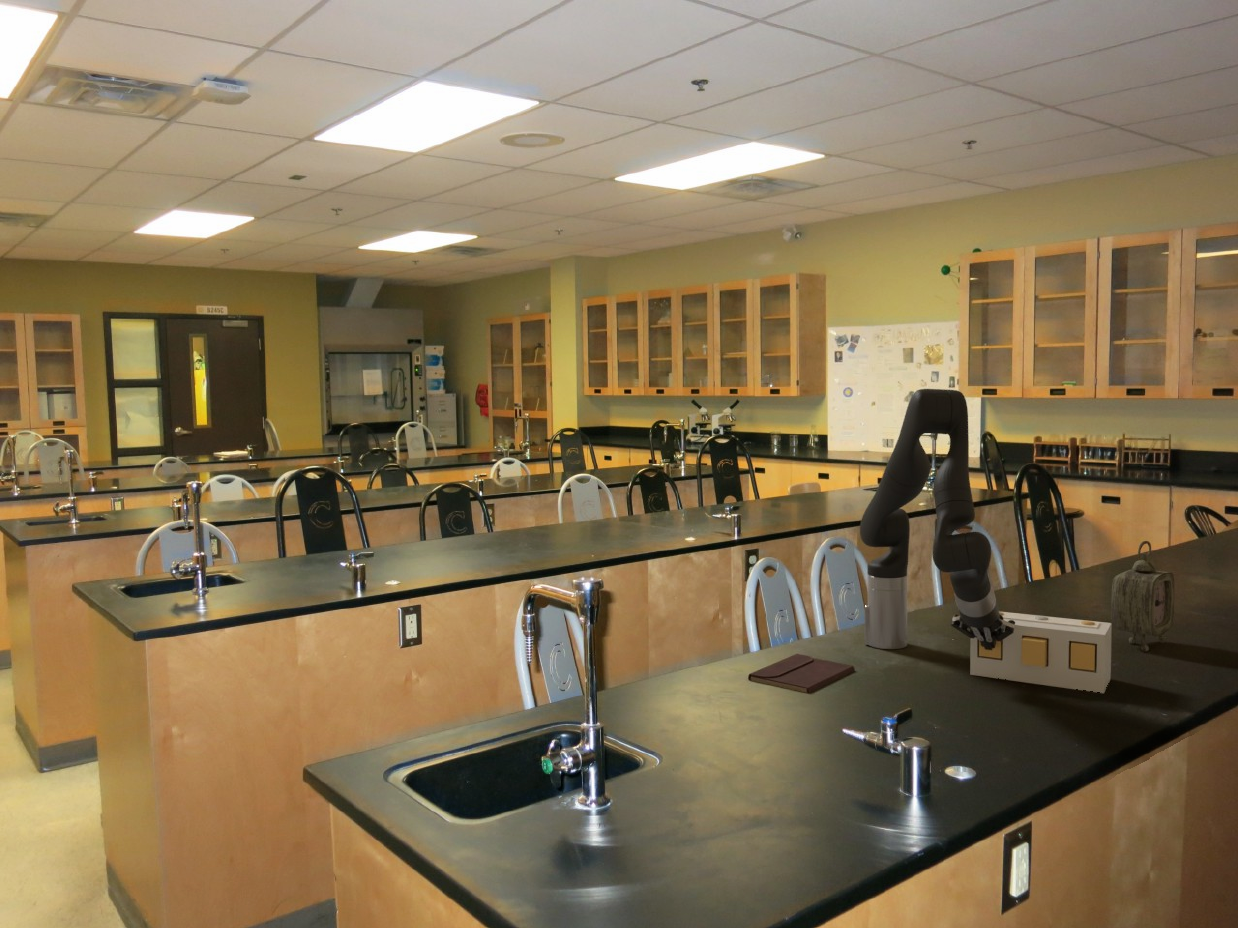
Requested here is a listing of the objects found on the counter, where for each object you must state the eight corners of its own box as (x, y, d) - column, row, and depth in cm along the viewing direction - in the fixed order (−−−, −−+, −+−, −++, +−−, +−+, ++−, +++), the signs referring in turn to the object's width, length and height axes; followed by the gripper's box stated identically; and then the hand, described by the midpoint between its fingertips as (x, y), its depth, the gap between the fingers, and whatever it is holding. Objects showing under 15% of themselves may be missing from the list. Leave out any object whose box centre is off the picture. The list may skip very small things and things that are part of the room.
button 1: (979, 655, 206) (979, 631, 205) (982, 652, 208) (982, 628, 208) (1000, 658, 203) (1000, 634, 203) (1003, 655, 206) (1003, 631, 205)
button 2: (1070, 667, 196) (1070, 642, 195) (1072, 663, 198) (1073, 639, 198) (1094, 670, 193) (1094, 645, 193) (1096, 666, 196) (1096, 641, 195)
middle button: (1021, 663, 199) (1022, 639, 199) (1024, 660, 202) (1024, 636, 201) (1044, 666, 197) (1044, 642, 196) (1047, 663, 199) (1047, 638, 199)
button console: (970, 674, 207) (970, 617, 206) (982, 661, 216) (982, 607, 215) (1103, 693, 193) (1104, 632, 192) (1110, 678, 202) (1111, 620, 201)
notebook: (854, 672, 212) (854, 664, 212) (809, 695, 197) (809, 686, 197) (795, 661, 222) (795, 652, 222) (748, 682, 207) (747, 672, 207)
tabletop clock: (1149, 654, 219) (1152, 546, 217) (1108, 647, 225) (1110, 542, 223) (1173, 642, 228) (1175, 539, 226) (1133, 636, 235) (1135, 535, 233)
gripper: (1013, 588, 191) (1025, 634, 202) (945, 582, 198) (960, 627, 209) (1007, 619, 187) (1019, 665, 198) (938, 612, 194) (954, 657, 205)
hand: (989, 646), depth 203 cm, fingers closed
